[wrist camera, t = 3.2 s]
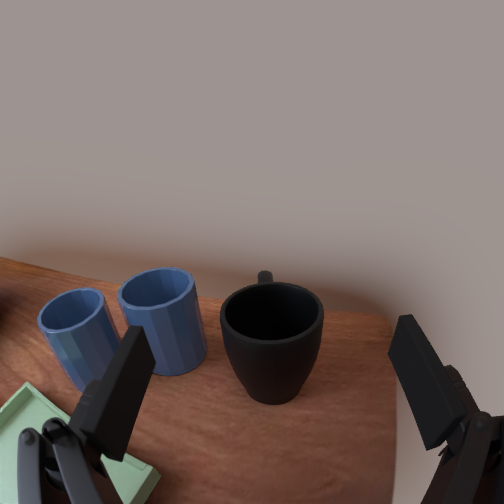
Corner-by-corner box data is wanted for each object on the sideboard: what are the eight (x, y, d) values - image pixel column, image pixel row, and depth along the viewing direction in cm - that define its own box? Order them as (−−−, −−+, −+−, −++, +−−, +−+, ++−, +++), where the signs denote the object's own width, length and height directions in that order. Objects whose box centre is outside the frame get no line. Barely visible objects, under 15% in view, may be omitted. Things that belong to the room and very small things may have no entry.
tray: (162, 475, 17) (153, 466, 16) (80, 596, 3) (64, 595, 2) (35, 392, 23) (27, 380, 22) (-33, 469, 9) (-45, 459, 8)
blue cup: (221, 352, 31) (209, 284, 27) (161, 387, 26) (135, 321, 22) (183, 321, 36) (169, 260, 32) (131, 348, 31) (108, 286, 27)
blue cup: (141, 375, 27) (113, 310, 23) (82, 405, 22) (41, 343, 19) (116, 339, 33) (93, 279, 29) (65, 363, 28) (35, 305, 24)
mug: (303, 330, 33) (307, 259, 29) (320, 412, 22) (334, 338, 18) (235, 334, 33) (227, 264, 29) (230, 417, 22) (213, 345, 18)
